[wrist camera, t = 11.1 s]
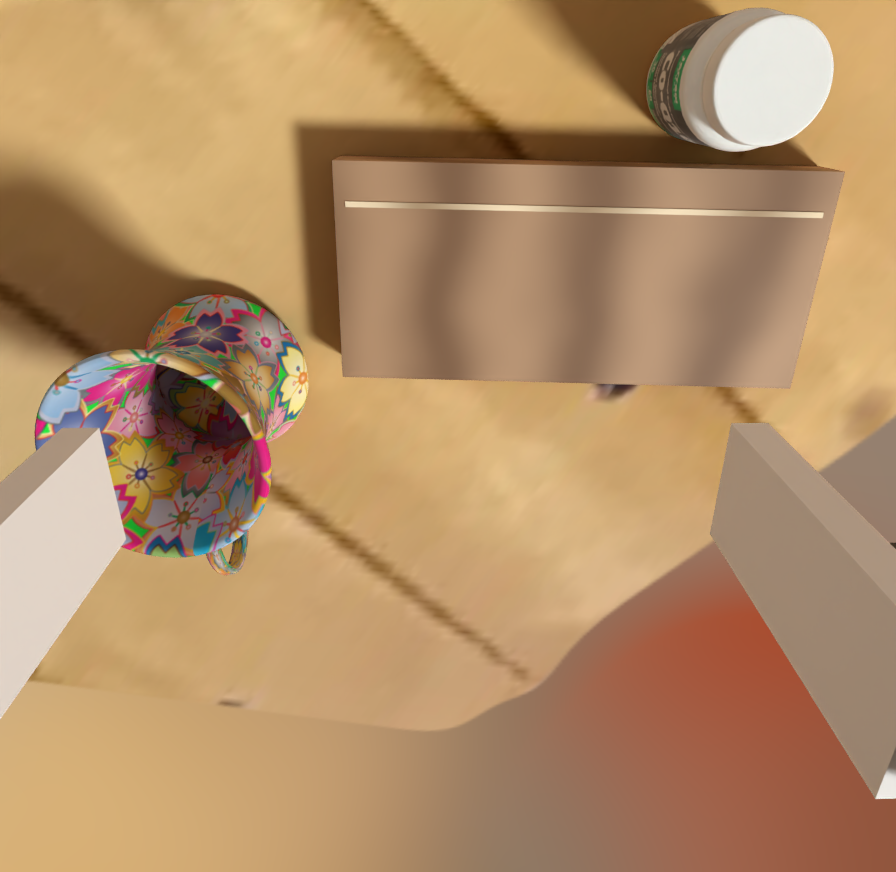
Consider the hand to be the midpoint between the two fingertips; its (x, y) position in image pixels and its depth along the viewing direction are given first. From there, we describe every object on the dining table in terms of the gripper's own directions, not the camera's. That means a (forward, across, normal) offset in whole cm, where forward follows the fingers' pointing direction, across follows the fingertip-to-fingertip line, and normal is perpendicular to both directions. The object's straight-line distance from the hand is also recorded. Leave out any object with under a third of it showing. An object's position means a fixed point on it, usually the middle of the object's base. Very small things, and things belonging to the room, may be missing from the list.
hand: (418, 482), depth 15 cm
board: (+22, +7, 0) cm, 23 cm away
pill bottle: (+22, +12, +8) cm, 26 cm away
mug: (+22, -10, -7) cm, 26 cm away
